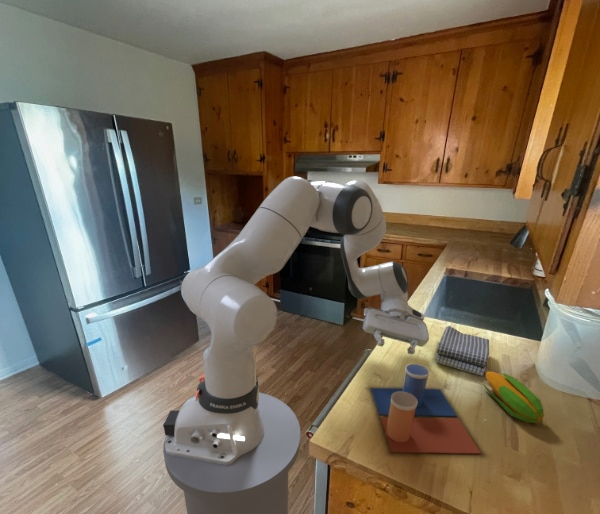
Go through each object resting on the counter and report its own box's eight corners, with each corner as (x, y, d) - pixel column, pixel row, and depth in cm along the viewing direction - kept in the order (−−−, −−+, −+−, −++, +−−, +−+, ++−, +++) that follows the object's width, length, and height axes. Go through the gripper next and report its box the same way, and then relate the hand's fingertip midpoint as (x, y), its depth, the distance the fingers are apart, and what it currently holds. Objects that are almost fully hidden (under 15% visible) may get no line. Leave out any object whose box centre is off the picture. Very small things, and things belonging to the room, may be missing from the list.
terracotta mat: (391, 452, 73) (391, 451, 73) (380, 418, 83) (380, 417, 83) (480, 454, 73) (480, 453, 73) (458, 419, 84) (458, 418, 84)
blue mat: (379, 415, 84) (379, 414, 84) (370, 388, 95) (370, 388, 94) (456, 416, 85) (456, 415, 84) (439, 390, 95) (440, 389, 95)
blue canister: (404, 407, 87) (409, 376, 83) (398, 394, 92) (403, 363, 88) (425, 408, 87) (432, 376, 83) (418, 394, 92) (424, 363, 88)
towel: (432, 365, 107) (437, 344, 104) (440, 341, 122) (444, 322, 119) (485, 379, 100) (491, 357, 97) (486, 352, 115) (491, 332, 112)
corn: (531, 406, 77) (478, 360, 96) (520, 431, 80) (470, 382, 98) (558, 405, 78) (500, 360, 97) (546, 430, 81) (492, 382, 100)
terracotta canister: (389, 442, 76) (394, 407, 72) (383, 424, 81) (388, 391, 77) (414, 443, 76) (421, 408, 72) (406, 424, 81) (412, 391, 77)
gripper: (367, 299, 103) (366, 334, 94) (429, 315, 104) (433, 352, 95) (360, 311, 108) (358, 346, 99) (419, 327, 109) (423, 362, 100)
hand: (396, 349), depth 97 cm, fingers open, 8 cm apart
